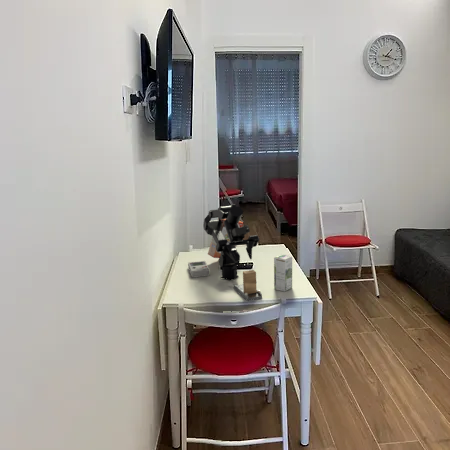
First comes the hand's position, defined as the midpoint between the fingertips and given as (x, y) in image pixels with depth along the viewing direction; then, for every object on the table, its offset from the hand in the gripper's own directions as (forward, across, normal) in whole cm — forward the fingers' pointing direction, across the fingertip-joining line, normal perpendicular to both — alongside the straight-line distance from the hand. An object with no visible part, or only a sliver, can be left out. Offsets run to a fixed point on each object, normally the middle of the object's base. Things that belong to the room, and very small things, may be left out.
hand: (243, 260), depth 185 cm
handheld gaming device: (-14, -10, +34) cm, 38 cm away
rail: (+12, 0, +7) cm, 14 cm away
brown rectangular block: (+13, 0, +4) cm, 14 cm away
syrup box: (+14, +16, +6) cm, 22 cm away
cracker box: (-24, +5, +40) cm, 47 cm away
